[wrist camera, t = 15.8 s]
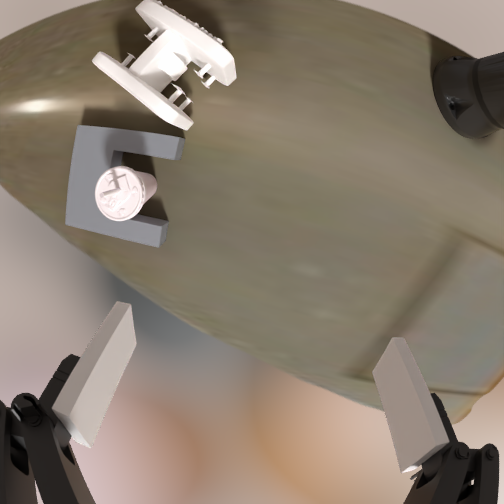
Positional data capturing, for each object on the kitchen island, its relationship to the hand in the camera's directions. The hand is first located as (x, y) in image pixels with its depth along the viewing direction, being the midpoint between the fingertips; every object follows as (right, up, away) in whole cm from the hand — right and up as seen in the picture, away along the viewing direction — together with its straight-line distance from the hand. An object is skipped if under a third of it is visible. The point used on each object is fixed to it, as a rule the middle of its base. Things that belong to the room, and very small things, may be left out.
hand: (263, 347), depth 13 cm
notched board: (-19, +15, +25) cm, 35 cm away
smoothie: (-16, +14, +26) cm, 33 cm away
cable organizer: (-11, +29, +21) cm, 38 cm away
